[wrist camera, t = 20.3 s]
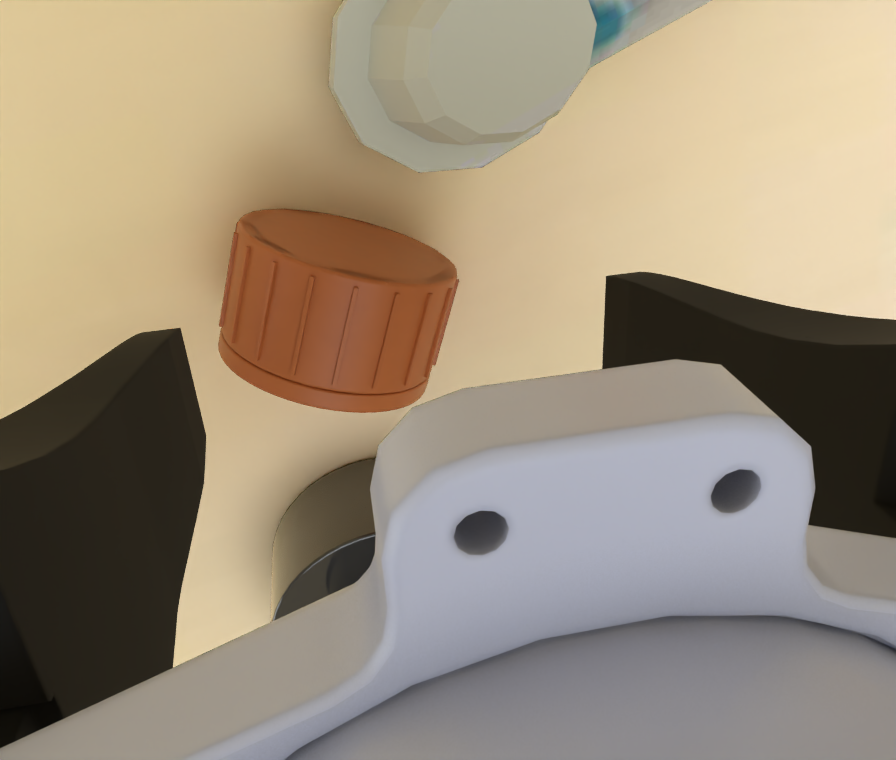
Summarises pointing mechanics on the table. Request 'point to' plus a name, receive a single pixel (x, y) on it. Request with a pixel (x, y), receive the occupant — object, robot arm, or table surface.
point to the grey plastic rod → (472, 69)
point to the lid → (333, 310)
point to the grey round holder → (324, 539)
